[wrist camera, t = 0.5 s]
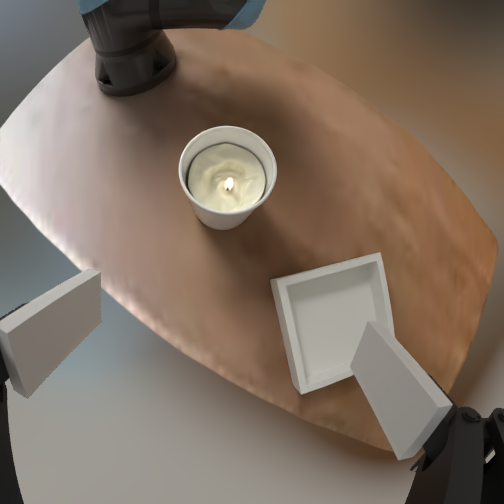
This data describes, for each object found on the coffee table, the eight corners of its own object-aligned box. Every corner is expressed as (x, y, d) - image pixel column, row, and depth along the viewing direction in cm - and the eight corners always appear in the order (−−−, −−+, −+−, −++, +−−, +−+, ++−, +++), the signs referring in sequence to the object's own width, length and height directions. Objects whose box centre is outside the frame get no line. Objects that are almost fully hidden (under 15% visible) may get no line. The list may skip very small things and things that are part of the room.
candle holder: (252, 241, 38) (271, 222, 26) (181, 229, 36) (168, 205, 25) (261, 175, 39) (281, 135, 27) (194, 164, 38) (190, 119, 26)
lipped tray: (269, 279, 37) (276, 279, 33) (366, 255, 40) (380, 252, 36) (292, 384, 36) (301, 394, 32) (382, 349, 39) (396, 354, 35)
